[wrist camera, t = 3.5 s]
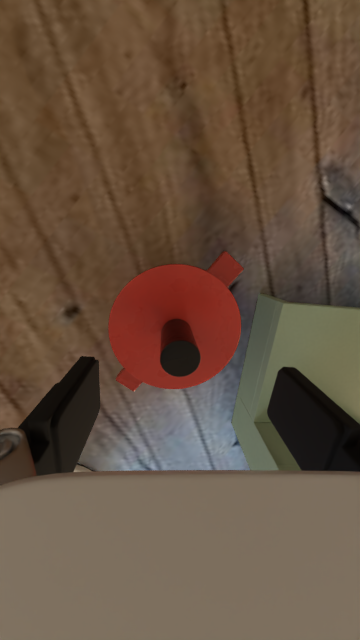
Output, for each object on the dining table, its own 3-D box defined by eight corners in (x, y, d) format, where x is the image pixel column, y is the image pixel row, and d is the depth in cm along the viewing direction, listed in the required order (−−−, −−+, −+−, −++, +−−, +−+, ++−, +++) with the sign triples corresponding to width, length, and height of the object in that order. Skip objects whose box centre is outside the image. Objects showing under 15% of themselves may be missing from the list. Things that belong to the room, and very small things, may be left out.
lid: (85, 337, 19) (50, 373, 13) (166, 232, 17) (168, 220, 11) (182, 401, 22) (188, 453, 16) (261, 319, 20) (302, 346, 14)
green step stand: (258, 293, 27) (336, 323, 15) (370, 303, 29) (524, 337, 17) (231, 422, 34) (269, 518, 21) (324, 424, 35) (409, 514, 23)
